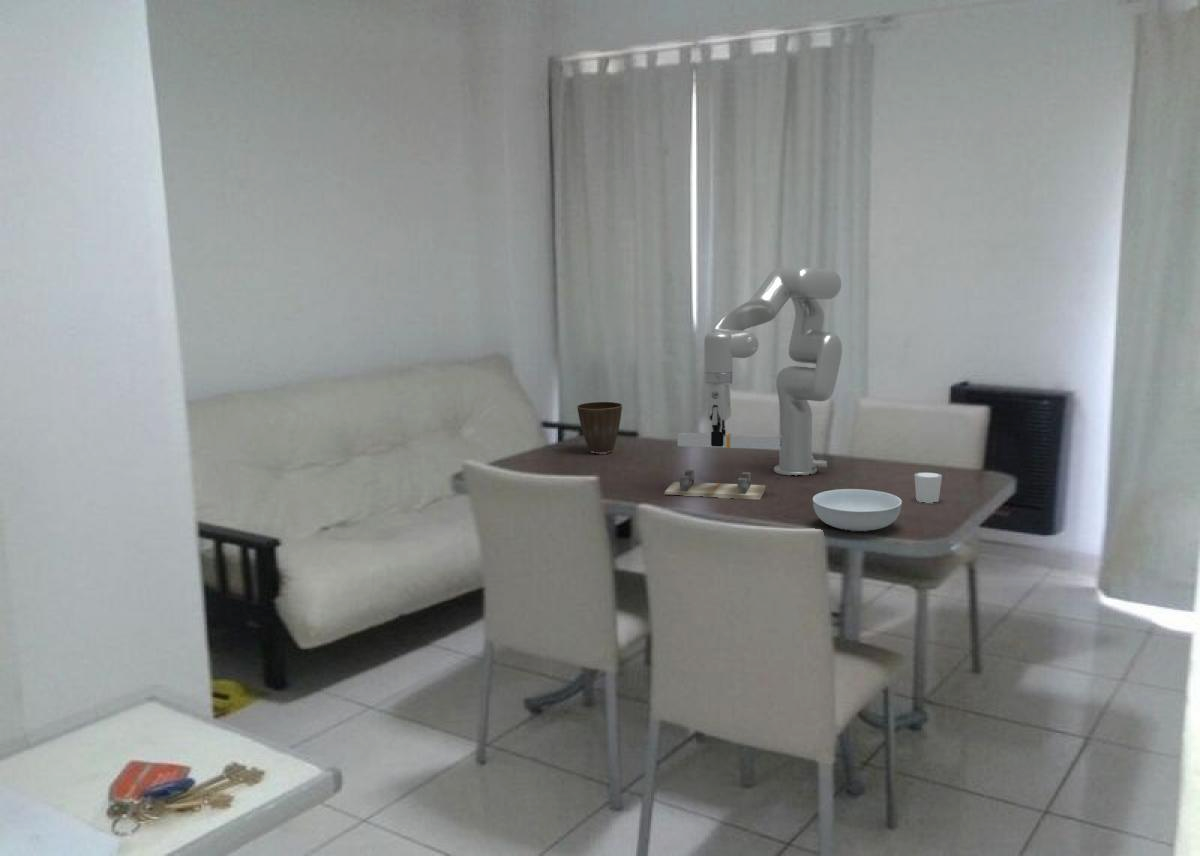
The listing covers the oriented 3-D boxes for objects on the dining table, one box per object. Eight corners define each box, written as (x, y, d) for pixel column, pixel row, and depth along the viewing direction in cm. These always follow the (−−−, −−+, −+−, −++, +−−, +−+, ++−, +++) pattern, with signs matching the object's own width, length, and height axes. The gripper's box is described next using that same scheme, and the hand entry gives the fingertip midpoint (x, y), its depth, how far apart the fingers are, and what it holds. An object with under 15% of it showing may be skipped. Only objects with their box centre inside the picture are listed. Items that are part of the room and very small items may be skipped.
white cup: (919, 496, 275) (920, 470, 274) (945, 499, 271) (946, 473, 270) (909, 501, 270) (910, 475, 269) (935, 505, 266) (935, 478, 264)
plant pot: (601, 458, 334) (600, 410, 331) (569, 453, 344) (567, 406, 341) (632, 451, 344) (631, 404, 342) (600, 446, 354) (598, 400, 352)
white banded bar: (781, 447, 279) (781, 435, 278) (780, 449, 276) (780, 437, 275) (679, 444, 287) (679, 432, 286) (677, 446, 284) (677, 434, 283)
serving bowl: (795, 528, 248) (795, 500, 247) (842, 511, 262) (843, 484, 261) (871, 544, 233) (872, 515, 232) (917, 525, 247) (918, 497, 246)
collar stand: (765, 489, 287) (765, 471, 286) (759, 499, 276) (759, 481, 275) (673, 485, 294) (673, 468, 293) (664, 495, 283) (664, 477, 282)
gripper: (727, 382, 270) (727, 451, 273) (736, 374, 286) (736, 440, 289) (699, 381, 272) (699, 450, 275) (709, 374, 288) (710, 439, 291)
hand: (718, 444), depth 282 cm, fingers closed on white banded bar, 3 cm apart
